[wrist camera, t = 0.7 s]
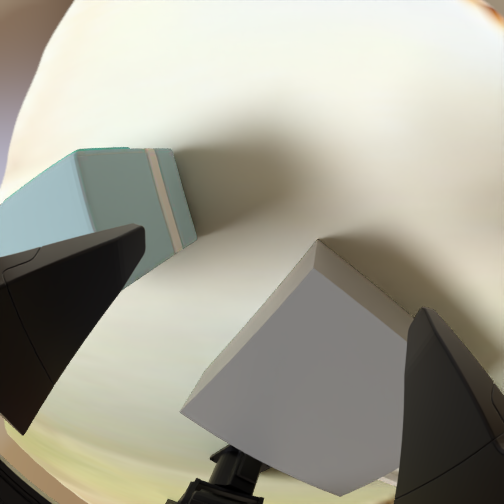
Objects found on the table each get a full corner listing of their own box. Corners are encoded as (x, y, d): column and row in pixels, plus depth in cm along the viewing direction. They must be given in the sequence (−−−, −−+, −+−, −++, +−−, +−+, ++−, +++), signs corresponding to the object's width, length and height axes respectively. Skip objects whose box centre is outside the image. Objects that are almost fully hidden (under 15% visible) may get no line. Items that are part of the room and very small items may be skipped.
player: (343, 454, 30) (340, 496, 24) (204, 370, 30) (179, 412, 24) (465, 364, 23) (485, 407, 17) (317, 239, 24) (313, 267, 18)
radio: (174, 135, 24) (-67, 142, 5) (203, 237, 26) (4, 380, 7) (59, 190, 29) (-100, 239, 10) (82, 267, 31) (-62, 352, 12)
